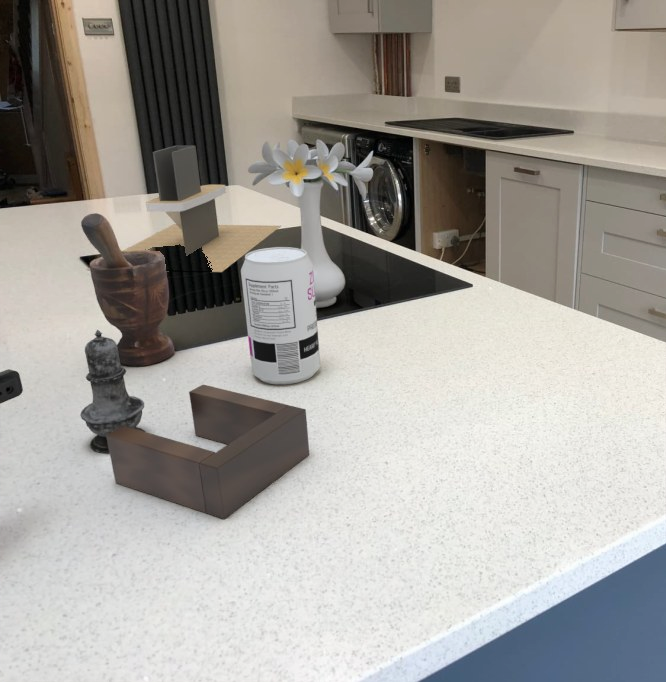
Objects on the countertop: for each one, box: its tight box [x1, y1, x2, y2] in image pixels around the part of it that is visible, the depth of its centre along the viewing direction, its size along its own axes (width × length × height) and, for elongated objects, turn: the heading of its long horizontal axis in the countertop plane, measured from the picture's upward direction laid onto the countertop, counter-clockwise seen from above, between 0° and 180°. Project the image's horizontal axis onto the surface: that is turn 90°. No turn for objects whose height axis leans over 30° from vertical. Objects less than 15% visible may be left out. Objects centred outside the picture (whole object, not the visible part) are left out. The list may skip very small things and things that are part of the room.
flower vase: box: [247, 139, 374, 309], centre depth 112 cm, size 13×18×25 cm
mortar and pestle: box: [80, 212, 175, 367], centre depth 90 cm, size 12×9×20 cm
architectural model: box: [86, 145, 281, 273], centre depth 147 cm, size 38×25×20 cm, turn 177°
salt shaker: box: [80, 329, 146, 454], centre depth 73 cm, size 6×6×12 cm
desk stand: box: [106, 384, 310, 520], centre depth 69 cm, size 13×12×5 cm
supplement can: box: [240, 246, 321, 385], centre depth 88 cm, size 8×8×15 cm
